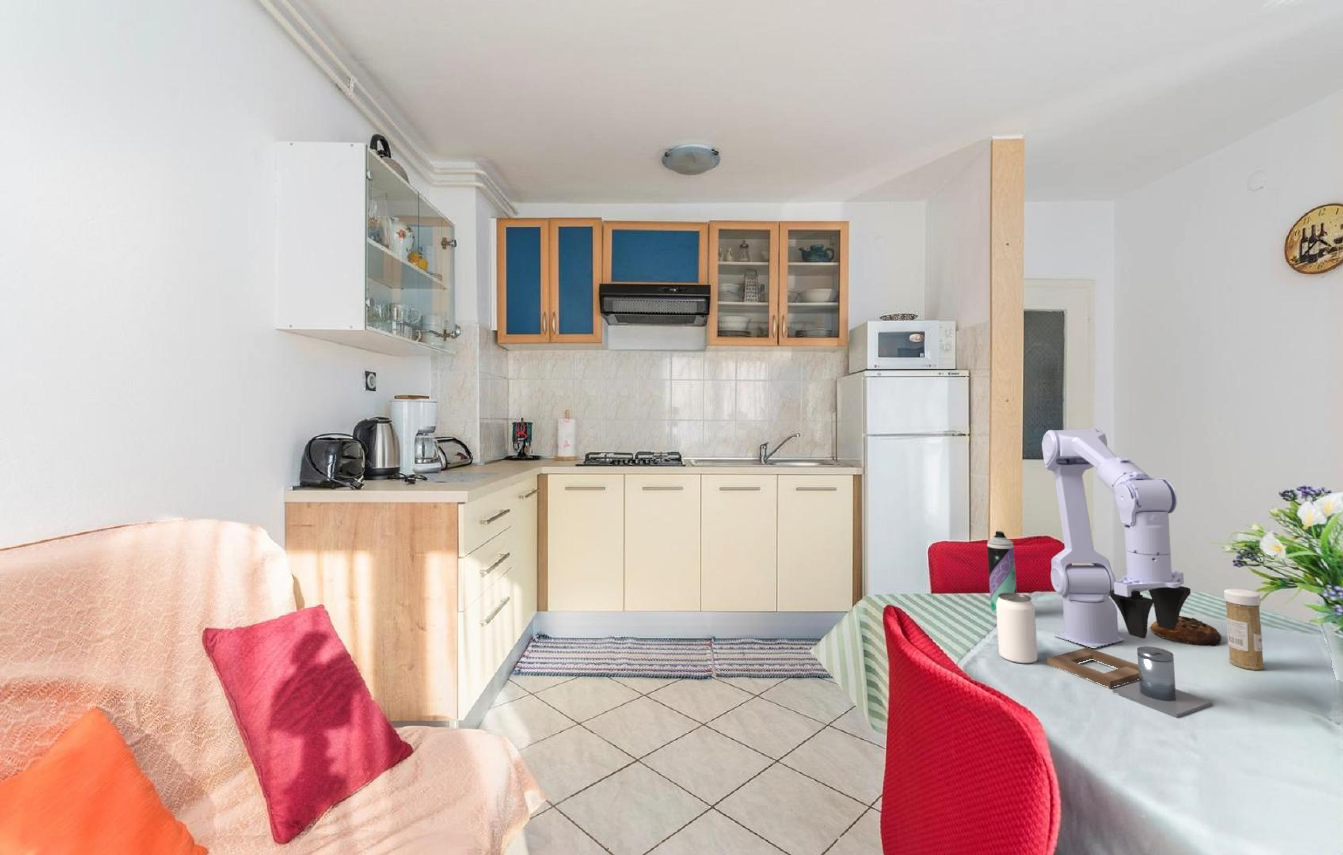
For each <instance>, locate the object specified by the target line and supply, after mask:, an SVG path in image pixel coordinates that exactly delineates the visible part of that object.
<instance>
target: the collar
mask: <svg viewBox="0 0 1343 855" xmlns="http://www.w3.org/2000/svg"><path fill="white" fill-rule="evenodd" d="M1089 659H1094V660H1096V661H1099V662H1102V663H1104V664H1107V665H1110V666H1114V667H1116V668H1118V669H1113V670H1110V671H1106V672H1102V671H1100V670H1097V669H1093V668H1092V667H1089V666H1086V665H1083V664H1078V663H1079V662H1083V661H1086V660H1089ZM1046 660H1047V661H1046V662H1047V665H1048V666H1051V667H1053V666H1055V667H1054V668H1056V667H1057V668H1056V669H1058V668H1060V669H1059V670H1061V669H1062V671H1063V670H1066V671H1068V672H1067V673H1069V672H1070V673H1069V674H1071V673H1073V674H1072V675H1074V674H1077V675H1079V676H1081V677H1083V678H1082V679H1084V678H1088V679H1090V680H1092V681H1094V682H1098V683H1100V684H1102V685H1105V686H1108V687H1109V688H1108V689H1110V688H1111V689H1113V688H1112V687H1114V686H1117V685H1121V686H1123V685H1122V684H1124V683H1127V682H1131V683H1132V681H1134V682H1136V681H1135V680H1137V679H1139V670H1138V663H1135V662H1131V661H1128V660H1125V659H1124V658H1123V659H1121V658H1119V657H1117V656H1114V655H1110V654H1107V653H1105V652H1101V651H1098V650H1096V649H1091V648H1088V647H1083V648H1079V649H1076V650H1072V651H1069V652H1064V653H1062V654H1056V655H1053V656H1049V657H1047V658H1046ZM1066 671H1065V672H1066ZM1079 676H1078V677H1079ZM1081 677H1080V678H1081ZM1092 681H1091V682H1092ZM1137 681H1138V680H1137ZM1094 682H1093V683H1094ZM1127 684H1128V683H1127ZM1102 685H1101V686H1102ZM1124 685H1125V684H1124ZM1105 686H1104V687H1105Z"/></svg>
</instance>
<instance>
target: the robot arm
mask: <svg viewBox="0 0 1343 855" xmlns="http://www.w3.org/2000/svg"><path fill="white" fill-rule="evenodd" d="M1107 440H1108V439H1107V436H1106V433H1105V432H1103V431H1102V430H1101V429H1100V428H1098V427H1093V428H1084V429H1083V428H1082V429H1081V428H1080V429H1079V428H1077V429H1062V430H1061V429H1059V430H1054V429H1049V430H1047V431H1046V432H1045V433H1044V435H1043V437H1042V441H1041V449H1042V456H1043V462H1044V465H1045V469H1047V470H1048V471H1051V472H1052V473H1053V477H1054V482H1055V483H1054V484H1055V490H1056V497H1057V503H1058V510H1059V518H1060V523H1061V524H1060V525H1061V531H1062V537H1063V545H1064V549H1062V550H1061V551H1060V552H1058V553H1057V554H1055V555H1054V556H1052V558H1051V560H1050V563H1051V571H1050V580H1051V584H1052V587H1053V589H1054V590H1055V592H1057V594H1058V595H1060V596H1061V597H1062V598H1061V599H1062V612H1063V624H1064V625H1063V631H1060V632H1057V633H1054V637H1056V638H1059V639H1062V640H1065V641H1068V640H1069V641H1068V642H1070V641H1071V643H1073V642H1074V644H1076V643H1079V644H1082V645H1085V646H1089V647H1099V648H1101V646H1103V645H1106V646H1109V645H1108V644H1110V645H1112V644H1111V643H1114V644H1117V643H1120V642H1119V641H1121V642H1123V641H1124V638H1123V637H1121V636H1119V622H1118V620H1119V619H1118V609H1119V611H1120V614H1121V616H1122V618H1123V621H1124V624H1125V627H1126V630H1127V632H1128V634H1129V636H1132V637H1136V638H1139V639H1143V640H1144V639H1146V638H1147V634H1148V626H1149V623H1148V621H1149V615H1150V611H1151V608H1152V606H1153V607H1154V614H1155V621H1157V624H1158V626H1159V627H1162V628H1166V629H1169V630H1175V628H1176V625H1177V621H1178V617H1179V616H1180V613H1181V610H1182V609H1183V606H1184V603H1185V602H1186V601H1187V598H1189V596H1190V595H1191V587H1190V588H1189V587H1186V586H1182V585H1184V583H1185V579H1184V572H1181V571H1176V570H1172V557H1171V556H1172V553H1171V539H1170V538H1171V536H1170V518H1169V515H1170V514H1171V513H1173V512H1175V510H1176V508H1177V504H1178V495H1177V491H1176V490H1175V487H1174V486H1173V484H1172V483H1171V482H1170V481H1169V480H1168V479H1167V478H1164V477H1163V478H1162V477H1161V478H1159V477H1158V478H1157V477H1150V475H1148V474H1147V473H1146V472H1145V471H1144V470H1142V469H1141V468H1140V467H1139V466H1138V465H1136V463H1134V462H1133V461H1132V460H1131V459H1130V458H1129V457H1128V456H1116V455H1115V454H1114V452H1113V450H1111V449H1110V448H1109V447H1108V441H1107ZM1092 468H1096V469H1097V473H1096V474H1097V478H1098V479H1099V480H1100V482H1102V483H1103V484H1104V486H1106V487H1107V488H1108V489H1109V490H1110V491H1111V492H1112V493H1113V495H1114V500H1115V501H1114V502H1115V504H1116V507H1117V510H1118V512H1119V519H1120V522H1121V523H1123V526H1124V527H1123V528H1124V529H1123V530H1124V540H1125V541H1124V542H1125V543H1124V544H1125V545H1124V546H1125V561H1126V574H1125V575H1123V577H1122V578H1120V579H1119V580H1116V576H1115V574H1114V572H1113V570H1112V568H1111V567H1112V566H1111V563H1110V561H1109V559H1108V558H1107V557H1105V555H1104V556H1103V554H1101V553H1099V552H1098V551H1096V550H1095V549H1094V548H1095V547H1094V543H1093V536H1092V530H1091V522H1090V518H1089V517H1090V516H1089V510H1088V504H1087V497H1086V491H1085V485H1084V480H1083V479H1084V478H1083V475H1084V473H1085V471H1087V470H1090V469H1092ZM1072 564H1073V565H1072ZM1076 564H1078V565H1076ZM1079 564H1080V565H1079ZM1081 564H1083V565H1081ZM1085 564H1086V565H1085ZM1088 564H1089V565H1088ZM1090 564H1091V565H1090ZM1146 591H1148V593H1149V594H1150V597H1151V598H1149V597H1144V595H1143V594H1141V592H1146ZM1117 608H1118V609H1117ZM1122 640H1123V641H1122ZM1116 642H1117V643H1116ZM1079 644H1078V645H1079ZM1082 645H1081V646H1082ZM1085 646H1084V647H1085ZM1103 647H1104V646H1103Z"/></svg>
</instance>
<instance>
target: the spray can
mask: <svg viewBox="0 0 1343 855" xmlns="http://www.w3.org/2000/svg"><path fill="white" fill-rule="evenodd" d="M986 544H987V545H986V546H987V562H988V563H987V564H988V580H989V583H988V584H989V600H990V612H991V615H992V616H993V617H995V618H997V612H996V602H997V600H998V598H999V597H998V595H999V594H1000V593H1017V577H1016V562H1015V561H1016V560H1015V559H1016V557H1015V546H1014V542H1013V540H1010V539H1008V537H1007V536H1006V535H1005V532H1004V531H1003V530H1002V531H1001V530H995V534H994V535H993V536H992V538H990V539H988V540H987V543H986Z"/></svg>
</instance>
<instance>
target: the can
mask: <svg viewBox="0 0 1343 855" xmlns="http://www.w3.org/2000/svg"><path fill="white" fill-rule="evenodd" d="M998 597H999V598H998V600H997V602H996V612H997V617H996V626H997V628H996V629H997V644H998V654H999V655H1000V658H1002V659H1004V660H1006V661H1008V662H1010V663H1016V664H1022V665H1025V664H1026V665H1027V664H1028V665H1029V664H1034V663H1035V662H1036V661H1037V660H1038V644H1037V643H1038V642H1037V641H1038V640H1037V626H1036V625H1037V624H1036V610H1035V609H1036V608H1035V605H1034V604H1033V602H1032V597H1031V596H1029V595H1026V594H1023V593H1019V592H1018V593H1000V594H999V595H998Z"/></svg>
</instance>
